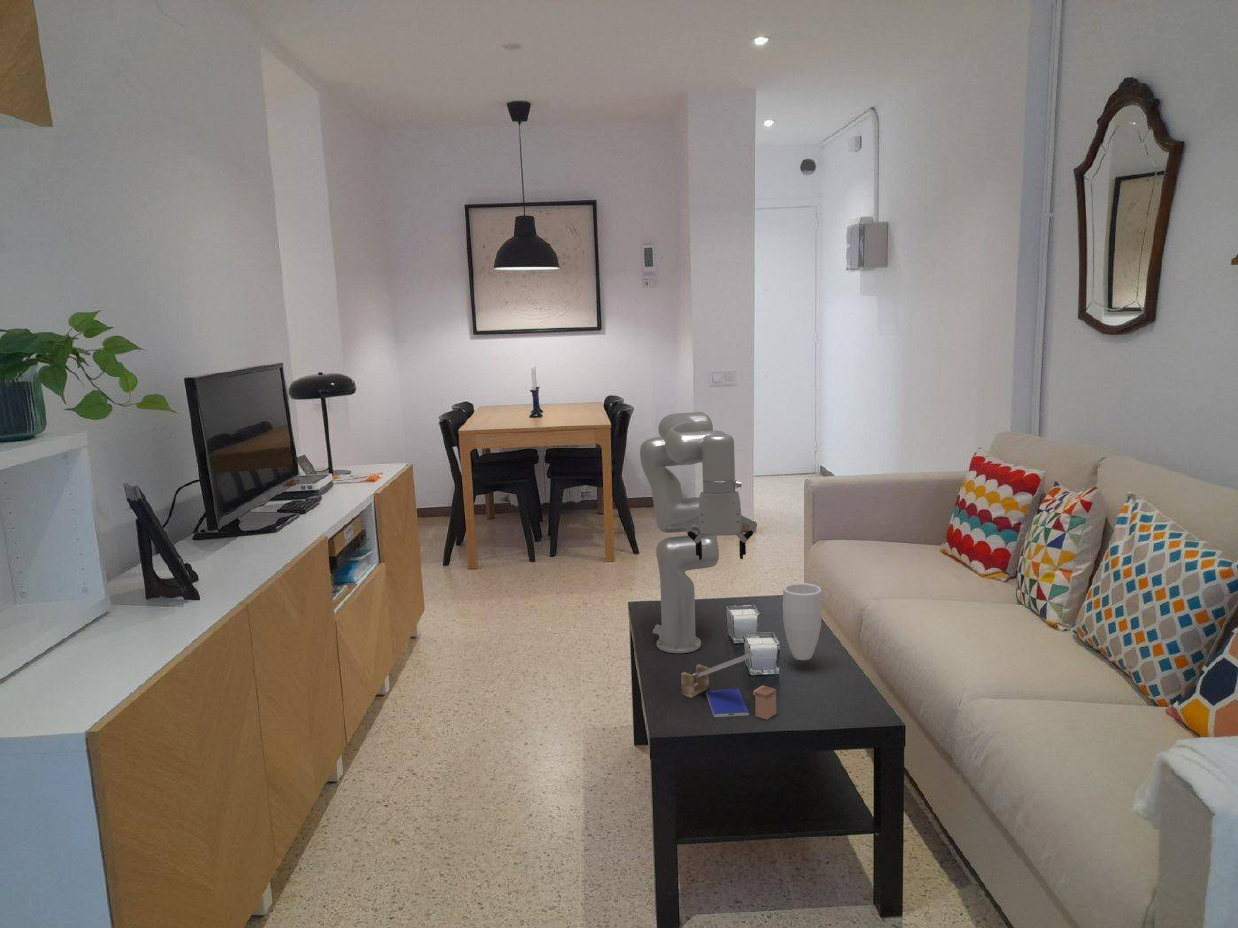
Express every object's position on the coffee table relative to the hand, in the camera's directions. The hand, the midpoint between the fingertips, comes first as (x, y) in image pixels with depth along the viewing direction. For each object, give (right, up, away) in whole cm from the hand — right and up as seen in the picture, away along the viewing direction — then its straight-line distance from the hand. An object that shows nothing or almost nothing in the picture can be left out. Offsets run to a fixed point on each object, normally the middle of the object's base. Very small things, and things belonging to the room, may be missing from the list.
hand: (720, 558), depth 197 cm
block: (+10, -36, -5) cm, 37 cm away
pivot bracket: (-5, -34, +9) cm, 36 cm away
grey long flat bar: (0, -27, +3) cm, 27 cm away
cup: (+24, -31, +21) cm, 45 cm away
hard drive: (+2, -36, +2) cm, 36 cm away
